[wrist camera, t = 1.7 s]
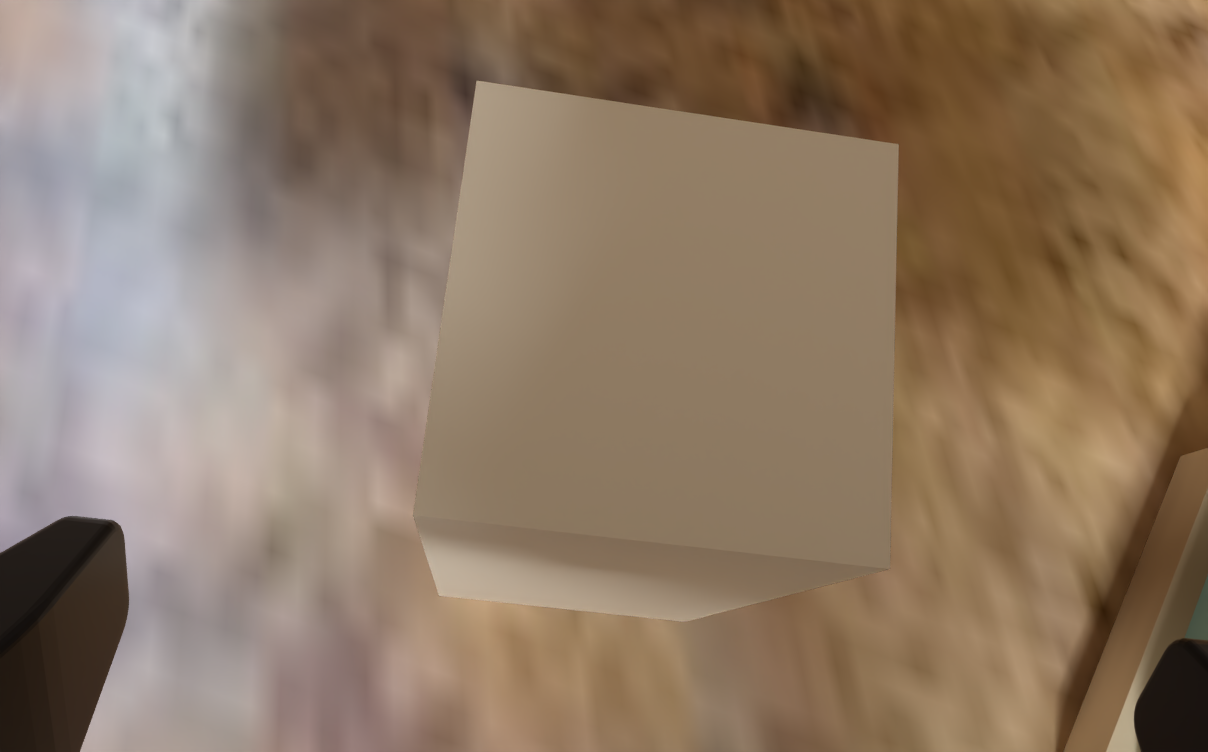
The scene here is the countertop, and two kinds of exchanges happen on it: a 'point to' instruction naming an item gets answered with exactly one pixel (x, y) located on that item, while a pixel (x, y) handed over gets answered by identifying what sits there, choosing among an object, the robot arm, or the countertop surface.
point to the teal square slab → (1200, 617)
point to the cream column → (660, 361)
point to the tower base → (1149, 612)
